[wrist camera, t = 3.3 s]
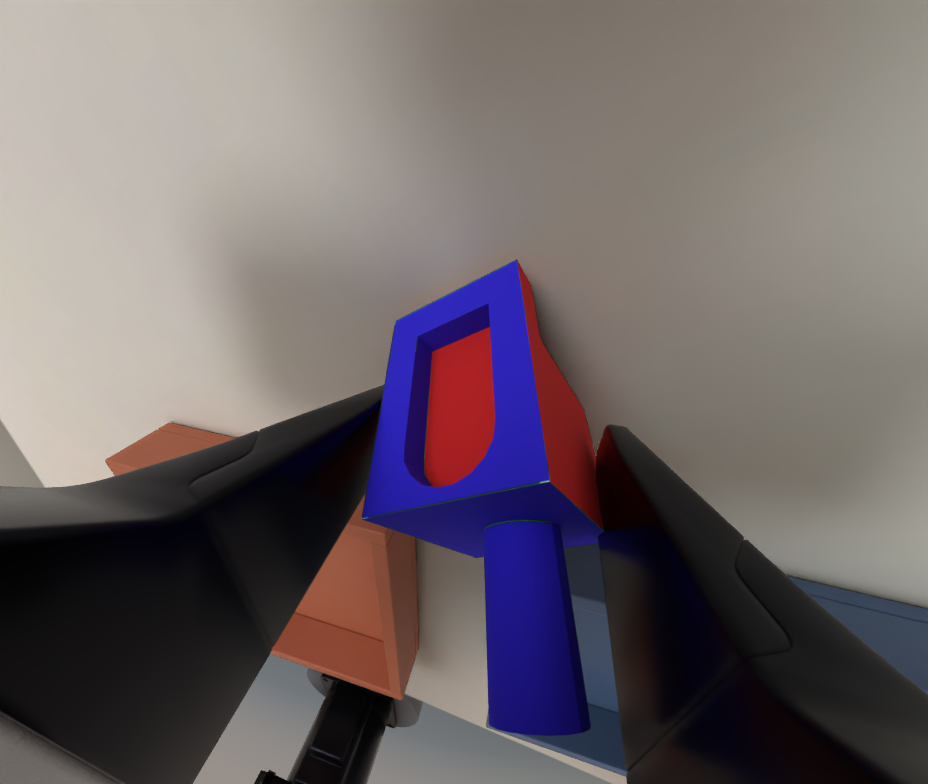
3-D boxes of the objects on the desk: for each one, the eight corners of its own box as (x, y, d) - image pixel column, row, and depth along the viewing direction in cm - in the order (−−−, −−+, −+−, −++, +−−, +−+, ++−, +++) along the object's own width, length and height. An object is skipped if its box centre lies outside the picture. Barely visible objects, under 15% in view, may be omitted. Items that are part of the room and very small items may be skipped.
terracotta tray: (419, 646, 20) (401, 701, 17) (250, 592, 22) (217, 635, 19) (414, 478, 13) (385, 534, 11) (168, 422, 15) (103, 460, 13)
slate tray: (747, 747, 16) (774, 829, 14) (494, 666, 18) (485, 727, 16) (950, 613, 10) (1052, 725, 8) (529, 514, 12) (521, 581, 10)
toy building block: (473, 396, 12) (478, 698, 7) (394, 319, 9) (321, 735, 5) (572, 362, 11) (656, 713, 6) (516, 257, 8) (594, 783, 3)
